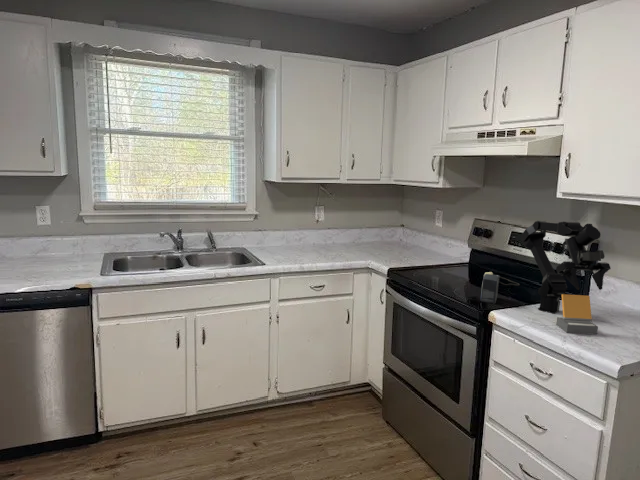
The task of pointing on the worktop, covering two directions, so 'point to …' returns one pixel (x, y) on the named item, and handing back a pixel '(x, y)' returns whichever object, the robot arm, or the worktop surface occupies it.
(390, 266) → the worktop surface
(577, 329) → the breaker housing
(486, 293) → the small box
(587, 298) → the orange square tile
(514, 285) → the cable
